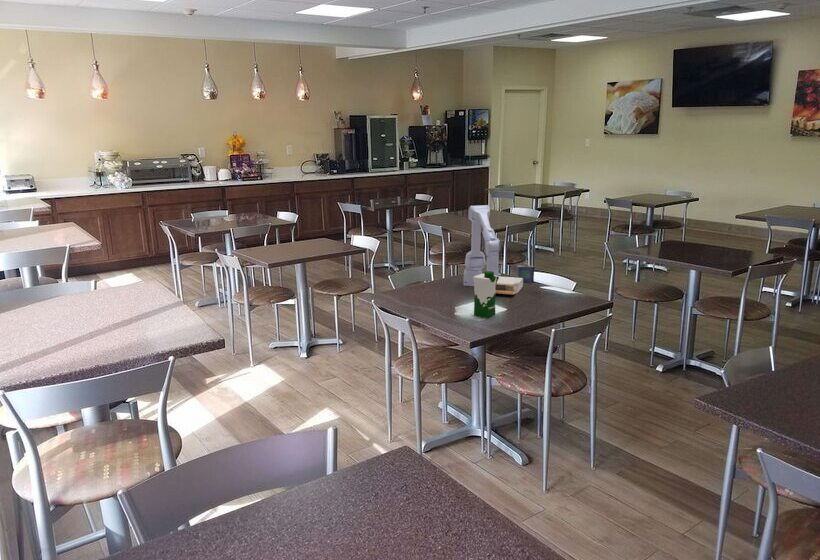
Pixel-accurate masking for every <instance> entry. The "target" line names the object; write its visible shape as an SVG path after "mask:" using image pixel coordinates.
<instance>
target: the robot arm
mask: <svg viewBox="0 0 820 560" xmlns="http://www.w3.org/2000/svg"><path fill="white" fill-rule="evenodd" d="M490 215H491V208H490V206H489V204H486V205H485V204H484V205H470V206H469V207H468V215H467V217H468V220H469V221H471V234H470V235H471V240H470V243H471V245H470V247H471V248H470V250H469V251H468V252H467V253H466V255H465V259H464V266H465V267H466V268H464V270H463V286H469V287H474V279H473V277H474V276H477V275H480V274H483V270H484V269H485V266H486V271H492V272H494V275H495V276H501V275H502V274H501V273H499V262H500V261H499V255H500V253H499V252H501V249H502V245H501V241H500V239H499V238H497V235H496V233H495V230H494V229H493V228H492V227H491V224H490V219H489V218H490ZM481 230H483V231H481ZM481 235H482V236H483V239H484V242H485V243H484V249H485V253H484V252H482V251H481V239H482V237H481ZM498 279H499V277H497V280H496V284H497V281H498ZM495 288H496V286H495Z"/></svg>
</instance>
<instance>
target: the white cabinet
mask: <svg viewBox="0 0 820 560" xmlns="http://www.w3.org/2000/svg"><path fill="white" fill-rule="evenodd" d="M497 277H499V279H498V281H497V284H496V288H495V290H501V291H513V292H516V294H518V293H519V292H520V291H521V290H522V288H523V287H524V283H523V278H517V277H511V276H501V275H500V276H497Z"/></svg>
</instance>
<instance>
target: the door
mask: <svg viewBox="0 0 820 560" xmlns="http://www.w3.org/2000/svg"><path fill="white" fill-rule="evenodd" d="M495 294H500V295H501V294H503V295H516V294H517V293H516V292H513V291H501V290H495Z"/></svg>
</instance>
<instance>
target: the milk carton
mask: <svg viewBox="0 0 820 560" xmlns="http://www.w3.org/2000/svg"><path fill="white" fill-rule="evenodd" d="M473 279H474V286H473V288H474V289H473V290H474V291H473V292H474V293H473V295H474V296H473V297H474V300H473V302H474V304H473V305H474V306H473V316H474V315H476V316H475V317H479V316H480V318H484V317H485V319H488V317H489V318H491V317H493V316H495V315H496V293H495V286H496V280H497V276H495V275H494V272H492V271H487V270H486V271H484V273H482V274H480V275H477V276H474V277H473ZM492 315H493V316H492Z"/></svg>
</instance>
